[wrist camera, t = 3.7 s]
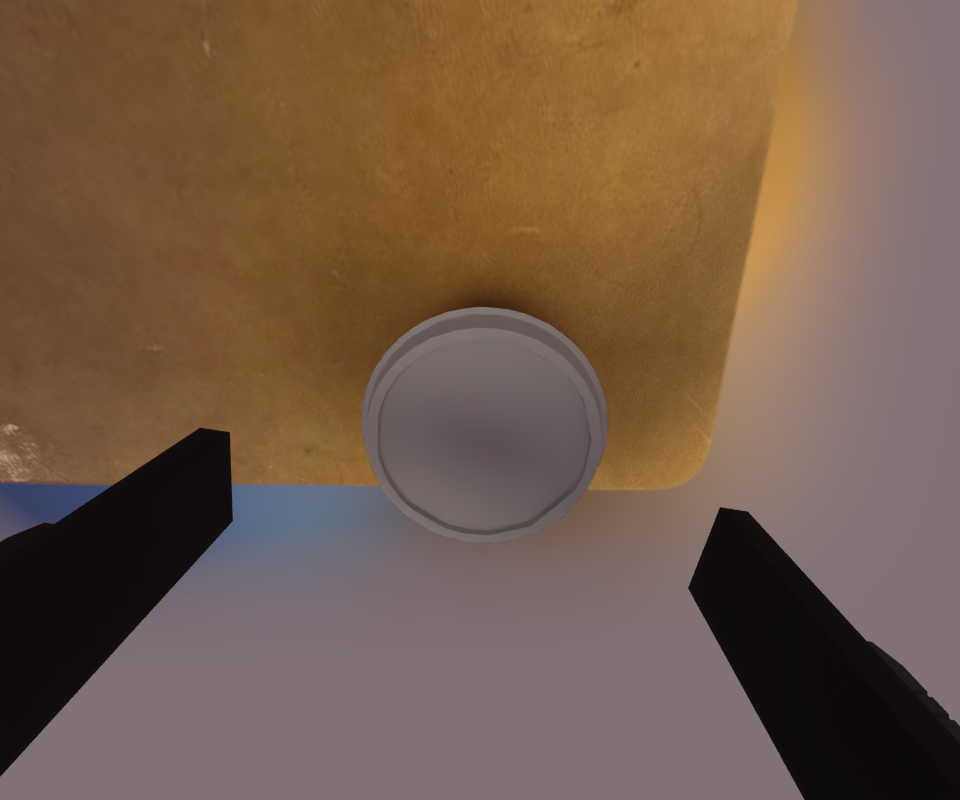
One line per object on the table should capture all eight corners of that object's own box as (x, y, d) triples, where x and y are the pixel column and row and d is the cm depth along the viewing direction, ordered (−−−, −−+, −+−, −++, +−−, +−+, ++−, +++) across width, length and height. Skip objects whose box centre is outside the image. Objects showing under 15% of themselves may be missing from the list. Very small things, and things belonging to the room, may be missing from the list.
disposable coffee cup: (438, 446, 30) (402, 574, 19) (389, 304, 27) (311, 355, 16) (582, 411, 29) (636, 524, 18) (547, 258, 26) (586, 277, 14)
